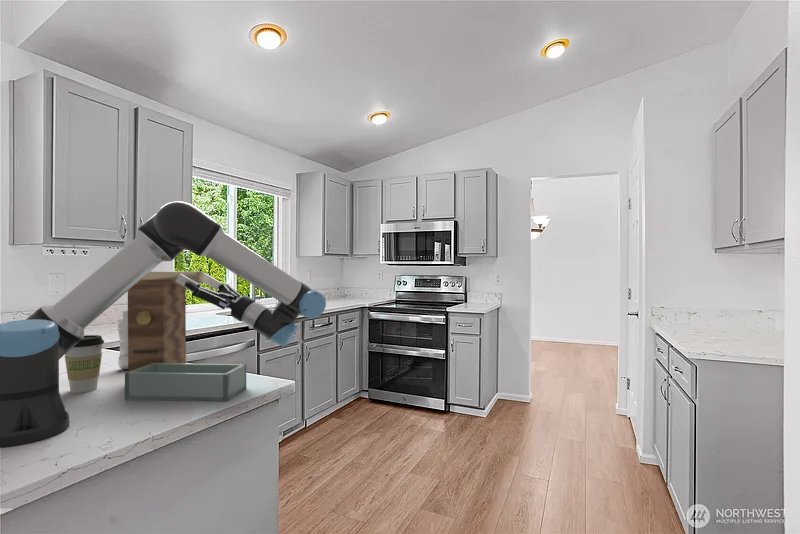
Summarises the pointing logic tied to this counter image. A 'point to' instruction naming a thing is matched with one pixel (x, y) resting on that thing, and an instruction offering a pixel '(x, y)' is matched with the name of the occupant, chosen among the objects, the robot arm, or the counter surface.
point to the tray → (185, 382)
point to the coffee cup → (84, 364)
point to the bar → (174, 275)
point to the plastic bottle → (123, 341)
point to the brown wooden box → (156, 323)
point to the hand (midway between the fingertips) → (190, 276)
